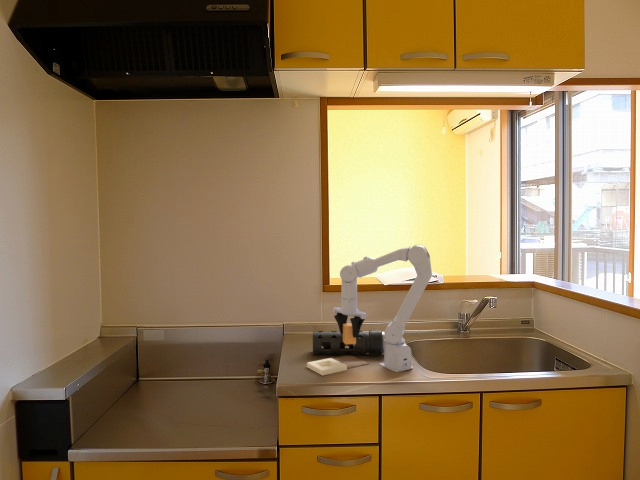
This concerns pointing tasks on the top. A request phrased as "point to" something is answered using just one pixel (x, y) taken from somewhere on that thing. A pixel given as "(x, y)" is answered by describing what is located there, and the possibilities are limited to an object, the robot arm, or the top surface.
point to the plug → (348, 334)
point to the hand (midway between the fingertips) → (349, 335)
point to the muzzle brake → (335, 345)
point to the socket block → (326, 366)
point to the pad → (351, 361)
